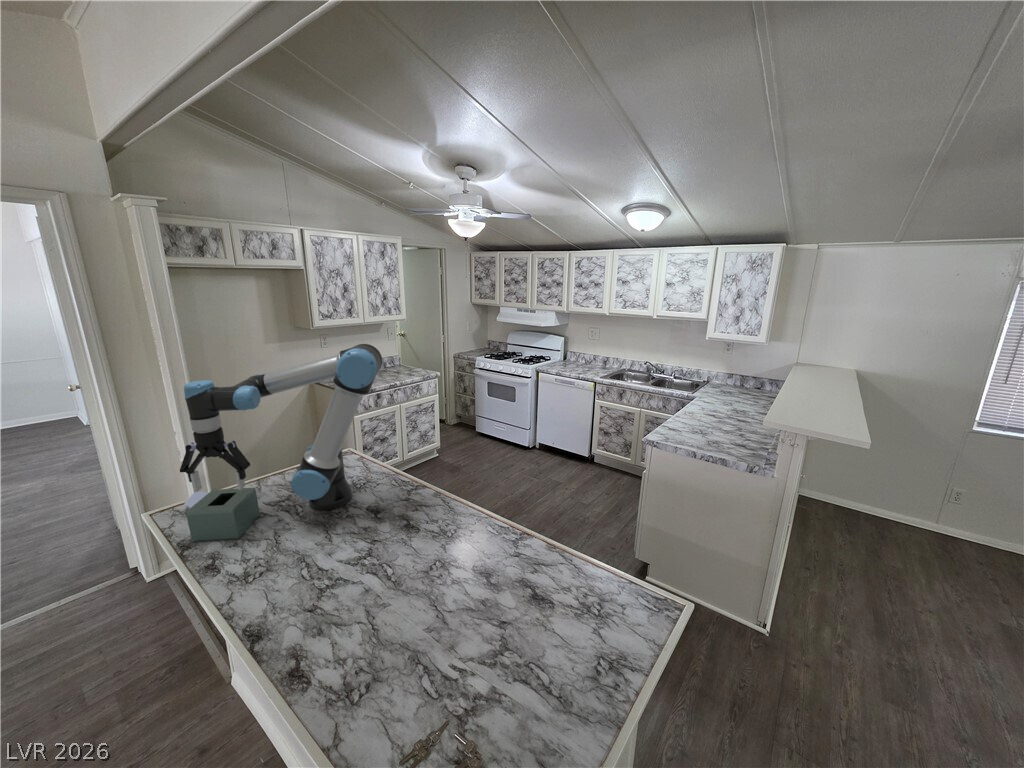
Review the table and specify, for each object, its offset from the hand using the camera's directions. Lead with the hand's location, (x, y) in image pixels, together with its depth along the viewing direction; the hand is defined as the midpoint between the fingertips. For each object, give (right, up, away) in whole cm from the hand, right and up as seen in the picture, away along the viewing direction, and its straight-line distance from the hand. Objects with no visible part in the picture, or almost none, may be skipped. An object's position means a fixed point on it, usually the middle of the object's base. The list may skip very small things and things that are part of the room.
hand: (220, 489), depth 133 cm
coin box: (0, -14, +4) cm, 15 cm away
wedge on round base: (-14, -12, +14) cm, 23 cm away
